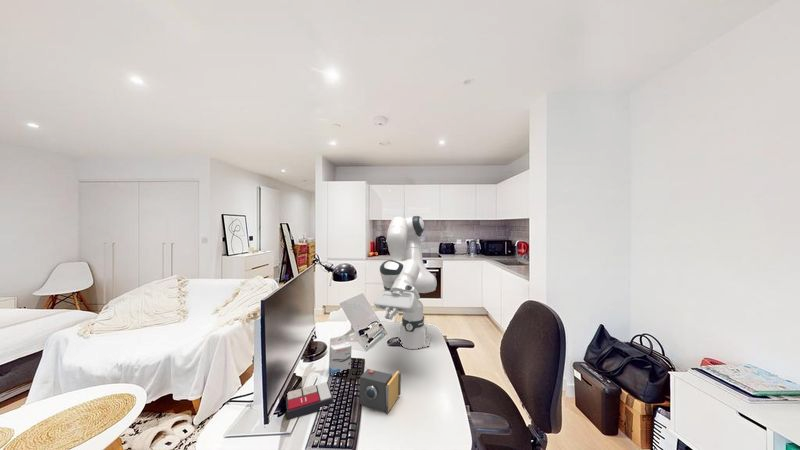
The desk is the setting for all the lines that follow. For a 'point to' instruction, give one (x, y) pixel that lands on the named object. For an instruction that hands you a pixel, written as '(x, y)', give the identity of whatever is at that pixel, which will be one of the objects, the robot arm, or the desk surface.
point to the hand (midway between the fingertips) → (388, 318)
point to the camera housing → (374, 389)
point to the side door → (393, 391)
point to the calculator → (307, 400)
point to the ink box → (339, 354)
